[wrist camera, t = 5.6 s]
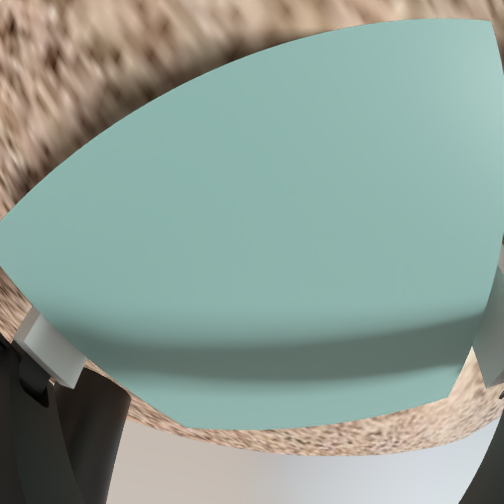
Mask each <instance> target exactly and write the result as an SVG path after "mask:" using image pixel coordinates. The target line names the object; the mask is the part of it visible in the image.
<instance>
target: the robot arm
mask: <svg viewBox="0 0 504 504" xmlns="http://www.w3.org/2000/svg"><path fill="white" fill-rule="evenodd" d="M13 339H14V340H13V341H12V343H11V344H10V343H9V342H8V341H7V339H6V338H5V337H4V336H3V335H2V334H1V333H0V504H85V503H84V501H83V498H82V496H81V493H80V490H79V488H78V485H77V482H76V479H75V476H74V473H73V470H72V467H71V463H70V460H69V457H68V453H67V449H66V446H65V442H64V438H63V433H62V429H61V425H60V420H59V415H58V410H57V404H56V398H55V392H54V387H53V384H52V383H51V382H50V381H49V379H50V377H52V378H54V379H55V380H56V381H57V382H58V383H59V384H61V385H63V386H66V387H69V388H72V389H74V387H75V385H76V383H77V380H78V378H79V376H80V373H81V371H82V369H83V367H84V364H85V362H86V360H87V357H86V356H85V355H84V354H83V353H81V352H80V351H79V350H78V349H77V348H76V347H75V346H74V345H72V344H71V343H70V342H69V341H68V340H67V339H66V338H65V337H64V336H63V335H62V334H61V333H60V332H59V331H58V330H57V329H56V328H55V327H54V326H52V325H51V323H50V322H49V321H48V320H47V319H46V318H45V317H44V316H43V315H42V314H41V313H40V312H39V311H38V310H37V309H36V308H35V307H34V306H32V308H31V309H30V311H29V313H28V314H27V316H26V317H25V319H24V320H23V322H22V324H21V325H20V327H19V329H18V330H17V332H16V334H15V335H14V337H13ZM472 346H473V349H474V352H475V355H476V358H477V361H478V364H479V367H480V370H481V373H482V376H483V380H484V383H485V387H486V389H487V388H490V387H492V386H495V385H498V384H501V383H503V382H504V246H503V244H502V245H501V250H500V255H499V260H498V264H497V269H496V273H495V277H494V281H493V285H492V288H491V292H490V295H489V299H488V302H487V305H486V308H485V311H484V314H483V317H482V320H481V323H480V326H479V329H478V331H477V334H476V337H475V339H474V342H473V344H472ZM503 397H504V391H503V392H502V393H501V395H500V397H499V399H502V398H503ZM459 504H504V410H503V413H502V415H501V418H500V421H499V424H498V426H497V429H496V431H495V434H494V436H493V439H492V441H491V443H490V446H489V448H488V450H487V452H486V454H485V456H484V459H483V461H482V463H481V465H480V467H479V469H478V471H477V473H476V474H475V476H474V478H473V480H472V482H471V484H470V485H469V487H468V489H467V490H466V492H465V494H464V496H463V497H462V499H461V501H460V502H459Z"/></svg>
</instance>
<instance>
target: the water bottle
mask: <svg viewBox="0 0 504 504" xmlns="http://www.w3.org/2000/svg"><path fill="white" fill-rule="evenodd" d="M53 387H54V392H55V398H56V404H57V410H58V415H59V420H60V425H61V429H62V433H63V438H64V442H65V446H66V449H67V453H68V457H69V460H70V463H71V467H72V470H73V473H74V476H75V479H76V482H77V485H78V488H79V490H80V493H81V496H82V498H83V501H84V503H85V504H106V501H107V495H108V490H109V486H110V481H111V477H112V472H113V468H114V463H115V459H116V455H117V451H118V447H119V443H120V439H121V435H122V431H123V427H124V424H125V420H126V417H127V413H128V409H129V406H130V402H131V397H130V395H129V394H128V393H127V392H126V391H125V390H123V389H122V388H121V387H120V386H118V385H117V384H115V383H114V382H112V381H110V380H109V379H107V378H105V377H103V376H101V375H99V374H98V373H95V372H93V371H91V370H89V369H87V368H84V367H83V369H82V371H81V373H80V376H79V378H78V380H77V383H76V385H75V387H74V389H72V388H69V387H66V386H63V385H61V384H59V383H58V382H57V381H56V382H55V384H54V386H53Z"/></svg>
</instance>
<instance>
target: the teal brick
mask: <svg viewBox="0 0 504 504" xmlns="http://www.w3.org/2000/svg"><path fill="white" fill-rule="evenodd" d="M503 234H504V74H503V68H502V63H501V58H500V53H499V49H498V45H497V41H496V37H495V33H494V30H493V26H492V23H491V21H484V20H471V19H413V20H399V21H389V22H381V23H373V24H366V25H360V26H354V27H349V28H343V29H338V30H334V31H329V32H325V33H320V34H316V35H312V36H308V37H305V38H301V39H297V40H294V41H290V42H287V43H284V44H281V45H277V46H274V47H271V48H268V49H265V50H262V51H259V52H257V53H254V54H251V55H248V56H246V57H243V58H241V59H238V60H235V61H233V62H230V63H228V64H226V65H223V66H221V67H219V68H216V69H214V70H212V71H209V72H207V73H205V74H203V75H201V76H199V77H196V78H194V79H192V80H190V81H188V82H186V83H184V84H182V85H180V86H178V87H176V88H174V89H172V90H171V91H169V92H167V93H165V94H163V95H161V96H159V97H158V98H156V99H154V100H152V101H151V102H149V103H147V104H145V105H144V106H142V107H140V108H139V109H137V110H135V111H134V112H132V113H131V114H129V115H127V116H126V117H124V118H123V119H121V120H120V121H118V122H117V123H115V124H114V125H112V126H111V127H109V128H108V129H106V130H105V131H103V132H102V133H100V134H99V135H98V136H96V137H95V138H93V139H92V140H91V141H89V142H88V143H87V144H85V145H84V146H83V147H81V148H80V149H79V150H77V151H76V152H75V153H73V154H72V155H71V156H70V157H68V158H67V159H66V160H65V161H63V162H62V163H61V164H60V165H59V166H57V167H56V168H55V169H54V170H53V171H52V172H50V173H49V174H48V175H47V176H46V177H45V178H44V179H42V180H41V181H40V182H39V183H38V184H37V185H36V186H35V187H34V188H33V189H32V190H30V191H29V192H28V193H27V194H26V195H25V196H24V197H23V198H22V199H21V200H20V201H19V202H18V203H17V204H16V205H15V206H14V207H13V208H12V209H11V210H10V211H9V212H8V214H7V215H6V216H5V217H4V218H3V219H2V220H1V221H0V266H1V268H2V269H3V270H4V271H5V273H6V274H7V275H8V277H9V278H10V279H11V280H12V281H13V283H14V284H15V285H16V286H17V287H18V289H19V290H20V291H21V292H22V293H23V294H24V296H25V297H26V298H27V299H28V300H29V301H30V302H31V303H32V305H33V306H34V307H35V308H36V309H37V310H38V311H39V312H40V313H41V314H42V315H43V316H44V317H45V318H46V319H47V320H48V321H49V322H50V323H51V325H52V326H54V327H55V328H56V329H57V330H58V331H59V332H60V333H61V334H62V335H63V336H64V337H65V338H66V339H67V340H68V341H69V342H70V343H71V344H72V345H74V346H75V347H76V348H77V349H78V350H79V351H80V352H81V353H83V354H84V355H85V356H86V357H87V358H88V359H90V360H91V361H92V362H93V363H94V364H95V365H97V366H98V367H99V368H100V369H102V370H103V371H104V372H105V373H107V374H108V375H109V376H110V377H112V378H113V379H114V380H116V381H117V382H118V383H120V384H121V385H122V386H124V387H125V388H126V389H128V390H129V391H131V392H132V393H133V394H135V395H136V396H138V397H139V398H140V399H142V400H143V401H145V402H146V403H148V404H149V405H151V406H152V407H154V408H155V409H157V410H158V411H160V412H162V413H163V414H165V415H166V416H168V417H170V418H171V419H173V420H175V421H176V422H178V423H180V424H181V425H183V426H185V427H188V428H201V429H223V430H263V429H285V428H299V427H309V426H319V425H327V424H335V423H342V422H348V421H354V420H360V419H365V418H371V417H376V416H380V415H385V414H389V413H394V412H398V411H402V410H406V409H410V408H413V407H417V406H421V405H424V404H427V403H431V402H434V401H437V400H440V399H443V398H446V397H448V396H449V394H450V392H451V390H452V388H453V386H454V384H455V382H456V380H457V378H458V376H459V374H460V372H461V369H462V367H463V365H464V363H465V361H466V358H467V356H468V354H469V351H470V349H471V347H472V344H473V342H474V339H475V337H476V334H477V331H478V329H479V326H480V323H481V320H482V317H483V314H484V311H485V308H486V305H487V302H488V299H489V295H490V292H491V288H492V285H493V281H494V277H495V273H496V269H497V264H498V260H499V255H500V250H501V245H502V240H503Z"/></svg>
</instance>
